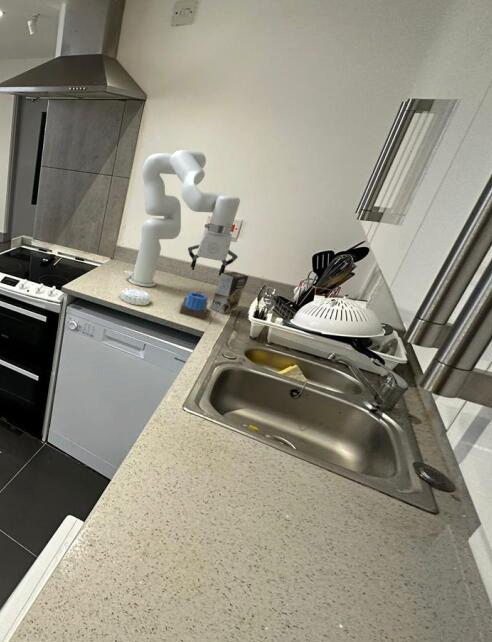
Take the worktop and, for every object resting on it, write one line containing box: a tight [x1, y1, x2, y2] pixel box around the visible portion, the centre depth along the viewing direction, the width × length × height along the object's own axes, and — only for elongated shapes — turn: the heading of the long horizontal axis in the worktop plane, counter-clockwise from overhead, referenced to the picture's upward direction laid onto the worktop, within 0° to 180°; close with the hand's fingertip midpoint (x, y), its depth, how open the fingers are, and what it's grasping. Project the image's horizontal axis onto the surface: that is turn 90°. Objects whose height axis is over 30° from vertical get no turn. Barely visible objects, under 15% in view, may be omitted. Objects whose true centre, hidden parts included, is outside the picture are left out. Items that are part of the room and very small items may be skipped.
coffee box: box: [209, 271, 249, 314], centre depth 165 cm, size 9×6×16 cm
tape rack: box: [179, 290, 209, 320], centre depth 163 cm, size 9×13×8 cm
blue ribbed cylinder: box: [185, 291, 209, 311], centre depth 160 cm, size 7×7×5 cm
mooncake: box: [120, 287, 151, 306], centre depth 170 cm, size 12×12×4 cm
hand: (206, 272), depth 155 cm, fingers open, 9 cm apart
